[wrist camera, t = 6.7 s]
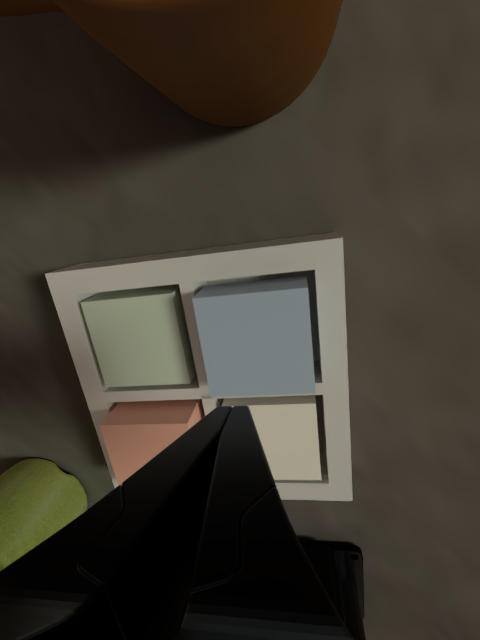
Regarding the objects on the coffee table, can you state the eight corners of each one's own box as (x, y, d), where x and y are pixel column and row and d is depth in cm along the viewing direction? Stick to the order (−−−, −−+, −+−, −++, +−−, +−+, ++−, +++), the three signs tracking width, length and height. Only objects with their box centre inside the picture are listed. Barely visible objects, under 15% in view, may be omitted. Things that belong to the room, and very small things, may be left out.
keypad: (345, 462, 19) (352, 501, 17) (137, 462, 21) (117, 495, 19) (334, 231, 15) (342, 237, 12) (79, 263, 17) (44, 273, 15)
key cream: (318, 451, 18) (321, 480, 16) (240, 451, 19) (234, 479, 17) (313, 381, 17) (315, 403, 15) (229, 384, 18) (221, 406, 16)
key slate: (312, 369, 15) (315, 393, 13) (220, 374, 16) (210, 397, 14) (306, 276, 14) (308, 287, 12) (204, 286, 15) (192, 298, 13)
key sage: (201, 364, 17) (190, 383, 16) (125, 368, 18) (106, 387, 16) (185, 282, 16) (171, 293, 14) (103, 291, 17) (80, 302, 15)
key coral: (213, 468, 18) (204, 498, 16) (139, 467, 19) (122, 497, 17) (199, 398, 17) (187, 423, 15) (119, 401, 17) (99, 425, 16)
